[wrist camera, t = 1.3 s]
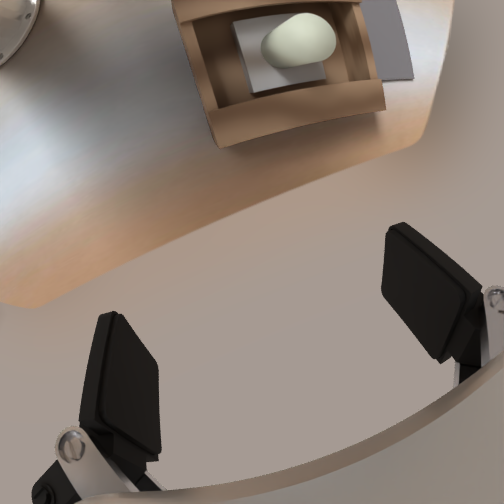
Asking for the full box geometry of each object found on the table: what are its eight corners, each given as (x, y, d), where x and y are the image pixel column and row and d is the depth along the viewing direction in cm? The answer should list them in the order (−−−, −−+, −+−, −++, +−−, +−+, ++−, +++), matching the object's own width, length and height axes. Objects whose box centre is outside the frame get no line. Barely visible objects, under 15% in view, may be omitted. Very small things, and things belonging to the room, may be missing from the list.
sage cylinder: (255, 33, 21) (277, 15, 15) (296, 27, 21) (328, 12, 15) (266, 72, 24) (292, 65, 18) (307, 65, 24) (341, 59, 18)
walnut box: (172, 9, 20) (170, -8, 15) (328, -12, 21) (353, -25, 16) (213, 140, 28) (219, 149, 24) (358, 105, 29) (386, 110, 25)
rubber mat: (345, -5, 21) (347, -6, 21) (393, 0, 22) (395, 0, 21) (367, 81, 28) (369, 81, 27) (411, 78, 28) (414, 78, 28)
